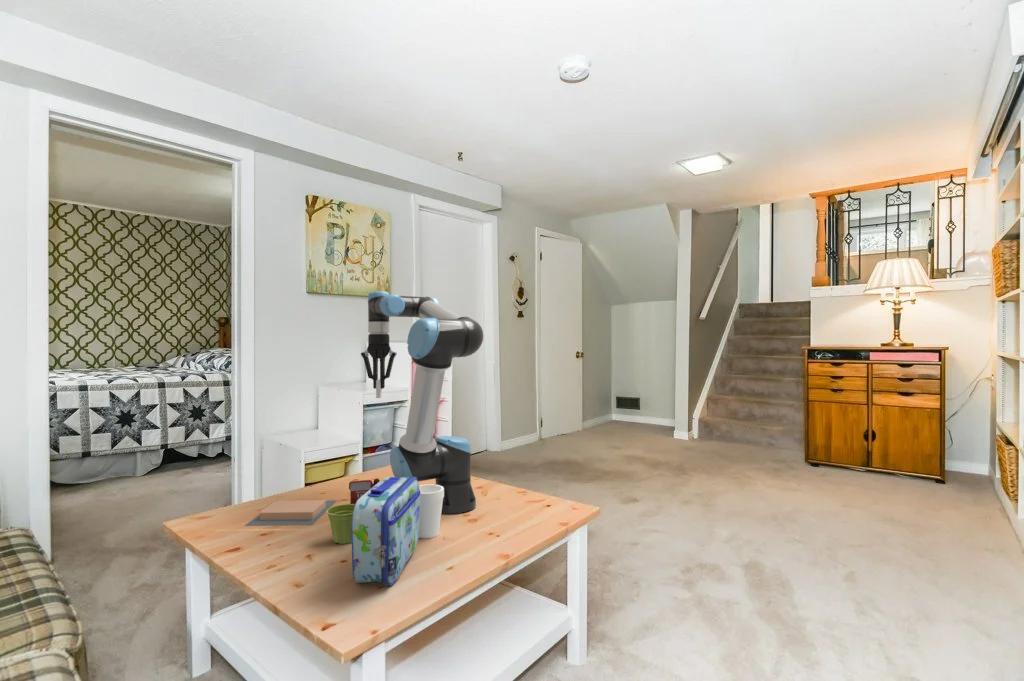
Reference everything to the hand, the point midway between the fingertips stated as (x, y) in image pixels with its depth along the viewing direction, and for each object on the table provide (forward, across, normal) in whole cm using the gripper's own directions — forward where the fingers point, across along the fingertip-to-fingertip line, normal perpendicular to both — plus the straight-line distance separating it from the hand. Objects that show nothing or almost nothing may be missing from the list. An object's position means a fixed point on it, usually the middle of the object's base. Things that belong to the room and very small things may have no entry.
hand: (379, 397), depth 194 cm
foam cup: (+35, -24, +44) cm, 61 cm away
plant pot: (+35, -1, +48) cm, 59 cm away
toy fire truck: (+35, -2, +23) cm, 42 cm away
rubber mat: (+34, +21, +25) cm, 48 cm away
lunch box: (+35, -17, +66) cm, 76 cm away
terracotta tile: (+33, +21, +21) cm, 44 cm away
